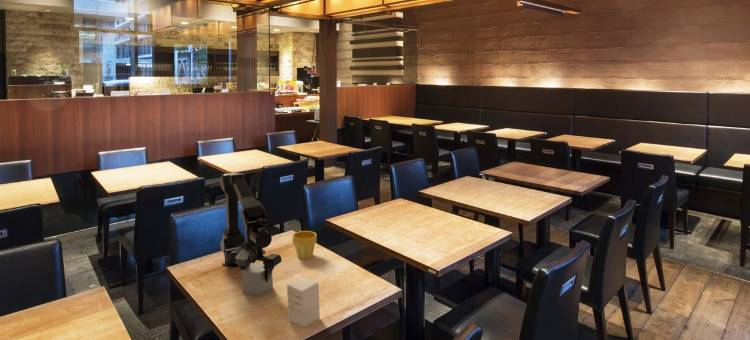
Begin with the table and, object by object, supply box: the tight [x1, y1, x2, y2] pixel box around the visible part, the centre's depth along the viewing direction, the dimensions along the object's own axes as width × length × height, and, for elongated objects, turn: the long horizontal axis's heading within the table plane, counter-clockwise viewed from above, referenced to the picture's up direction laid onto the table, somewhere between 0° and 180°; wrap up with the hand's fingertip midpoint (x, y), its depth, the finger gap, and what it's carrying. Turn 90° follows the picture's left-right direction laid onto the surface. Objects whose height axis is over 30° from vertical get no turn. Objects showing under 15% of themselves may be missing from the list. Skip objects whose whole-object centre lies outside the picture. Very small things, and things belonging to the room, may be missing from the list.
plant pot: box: [292, 230, 318, 260], centre depth 200 cm, size 10×10×10 cm
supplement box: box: [286, 276, 321, 328], centre depth 148 cm, size 7×7×13 cm
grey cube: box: [240, 261, 274, 297], centre depth 168 cm, size 8×8×9 cm
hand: (256, 279), depth 168 cm, fingers open, 9 cm apart
